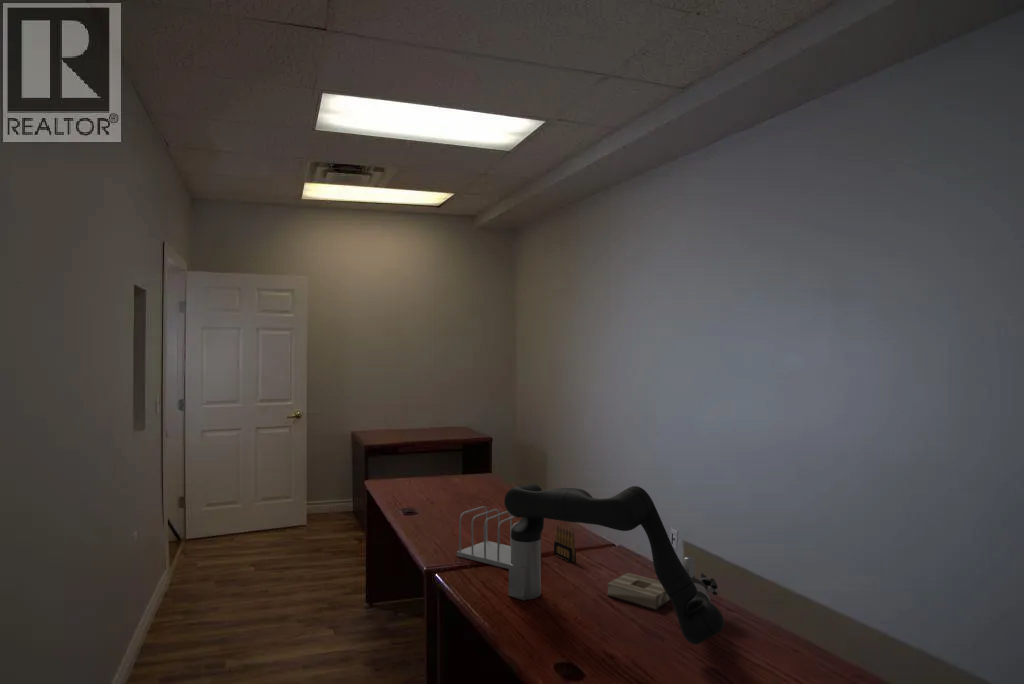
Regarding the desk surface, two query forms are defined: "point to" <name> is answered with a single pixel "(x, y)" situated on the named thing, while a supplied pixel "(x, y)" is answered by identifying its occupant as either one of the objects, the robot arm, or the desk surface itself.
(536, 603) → the desk surface
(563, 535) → the ammunition clip
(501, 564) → the file sorter
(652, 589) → the socket block
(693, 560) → the steel pin
